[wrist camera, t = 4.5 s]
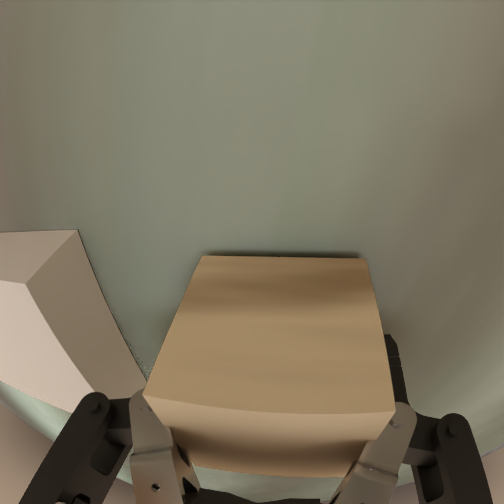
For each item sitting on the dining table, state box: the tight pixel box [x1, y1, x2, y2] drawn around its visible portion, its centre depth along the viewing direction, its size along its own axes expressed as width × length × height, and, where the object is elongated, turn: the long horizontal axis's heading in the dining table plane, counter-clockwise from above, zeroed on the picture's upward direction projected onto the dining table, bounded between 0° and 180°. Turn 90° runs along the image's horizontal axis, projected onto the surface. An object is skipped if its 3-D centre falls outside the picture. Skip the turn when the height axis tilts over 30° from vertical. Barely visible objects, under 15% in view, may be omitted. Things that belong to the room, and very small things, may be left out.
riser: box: [0, 230, 147, 413], centre depth 15 cm, size 12×14×4 cm
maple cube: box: [142, 256, 396, 477], centre depth 10 cm, size 6×6×6 cm
